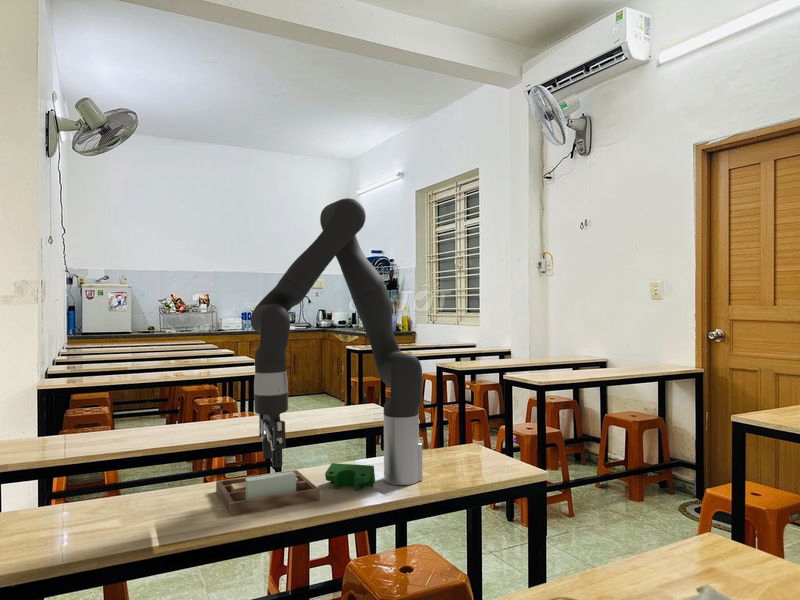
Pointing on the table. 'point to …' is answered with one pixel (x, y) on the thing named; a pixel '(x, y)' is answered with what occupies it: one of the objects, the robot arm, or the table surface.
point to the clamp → (350, 475)
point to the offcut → (238, 487)
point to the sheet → (270, 485)
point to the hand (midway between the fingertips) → (272, 462)
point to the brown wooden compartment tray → (240, 505)
